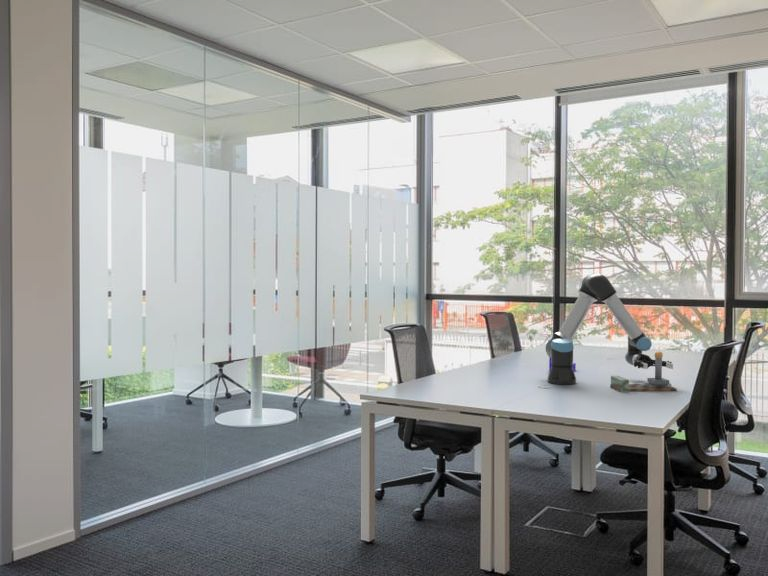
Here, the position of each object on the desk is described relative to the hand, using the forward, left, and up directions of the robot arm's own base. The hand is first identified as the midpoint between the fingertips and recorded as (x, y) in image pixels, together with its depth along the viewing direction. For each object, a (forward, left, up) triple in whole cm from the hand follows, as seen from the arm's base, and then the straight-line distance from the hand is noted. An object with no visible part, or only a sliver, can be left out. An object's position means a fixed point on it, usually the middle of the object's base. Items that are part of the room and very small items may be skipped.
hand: (659, 366), depth 355 cm
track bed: (-9, 0, -12) cm, 15 cm away
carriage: (-1, 0, -10) cm, 10 cm away
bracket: (-30, +64, -12) cm, 72 cm away
